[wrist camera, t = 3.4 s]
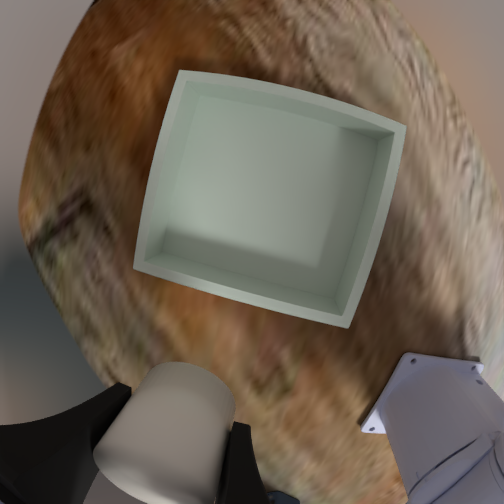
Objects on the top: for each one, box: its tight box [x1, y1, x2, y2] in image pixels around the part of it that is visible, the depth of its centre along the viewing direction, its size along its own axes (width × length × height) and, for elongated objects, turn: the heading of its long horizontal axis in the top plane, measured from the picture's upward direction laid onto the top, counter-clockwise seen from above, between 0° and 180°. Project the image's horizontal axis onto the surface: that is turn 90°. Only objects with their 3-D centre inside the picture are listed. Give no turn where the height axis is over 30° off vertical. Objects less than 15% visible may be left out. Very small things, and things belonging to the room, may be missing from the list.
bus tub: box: [133, 70, 407, 328], centre depth 15 cm, size 12×11×3 cm
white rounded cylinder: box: [93, 362, 236, 504], centre depth 9 cm, size 4×4×5 cm
